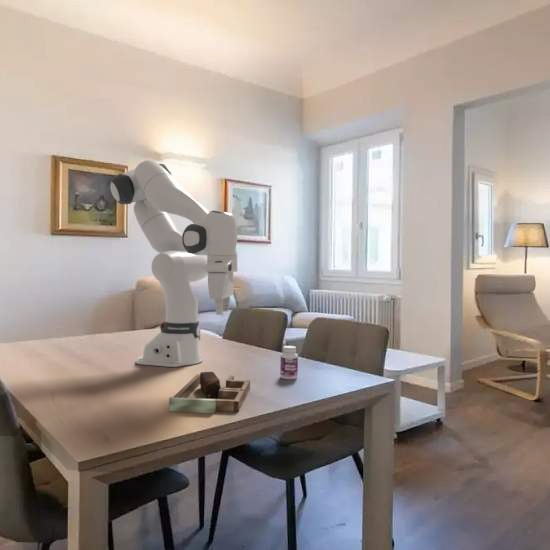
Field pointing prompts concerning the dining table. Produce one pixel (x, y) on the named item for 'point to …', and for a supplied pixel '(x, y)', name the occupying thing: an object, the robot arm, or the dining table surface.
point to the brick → (209, 384)
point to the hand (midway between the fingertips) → (222, 312)
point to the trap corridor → (226, 401)
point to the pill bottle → (289, 363)
